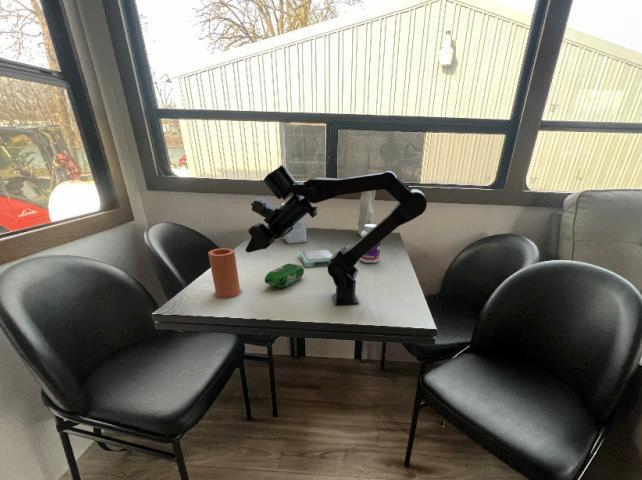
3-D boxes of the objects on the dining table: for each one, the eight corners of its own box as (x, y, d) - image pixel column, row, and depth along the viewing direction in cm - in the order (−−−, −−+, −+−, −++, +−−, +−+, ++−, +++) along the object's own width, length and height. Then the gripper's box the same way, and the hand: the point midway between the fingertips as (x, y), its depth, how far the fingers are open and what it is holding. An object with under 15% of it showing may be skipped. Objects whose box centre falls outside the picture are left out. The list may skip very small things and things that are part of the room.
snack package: (260, 289, 93) (259, 274, 91) (291, 273, 106) (290, 259, 103) (278, 294, 91) (277, 279, 88) (307, 277, 103) (307, 263, 101)
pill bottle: (379, 264, 118) (382, 228, 111) (359, 263, 117) (361, 227, 111) (378, 257, 125) (380, 223, 118) (359, 257, 125) (360, 222, 118)
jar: (238, 297, 88) (231, 255, 82) (213, 298, 87) (205, 255, 81) (241, 287, 94) (236, 248, 88) (219, 288, 92) (211, 248, 87)
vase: (366, 232, 163) (369, 173, 149) (376, 235, 157) (381, 174, 143) (354, 234, 158) (356, 173, 144) (364, 238, 152) (368, 175, 138)
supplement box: (283, 238, 145) (280, 203, 138) (301, 237, 149) (300, 202, 141) (288, 243, 138) (285, 206, 130) (307, 242, 141) (306, 205, 134)
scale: (336, 265, 115) (336, 258, 114) (306, 267, 111) (306, 260, 110) (328, 255, 125) (328, 248, 124) (300, 257, 122) (299, 250, 120)
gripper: (283, 184, 86) (249, 217, 92) (253, 192, 70) (215, 232, 76) (308, 216, 89) (274, 245, 95) (285, 230, 72) (246, 265, 79)
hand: (254, 246), depth 86 cm, fingers open, 9 cm apart
